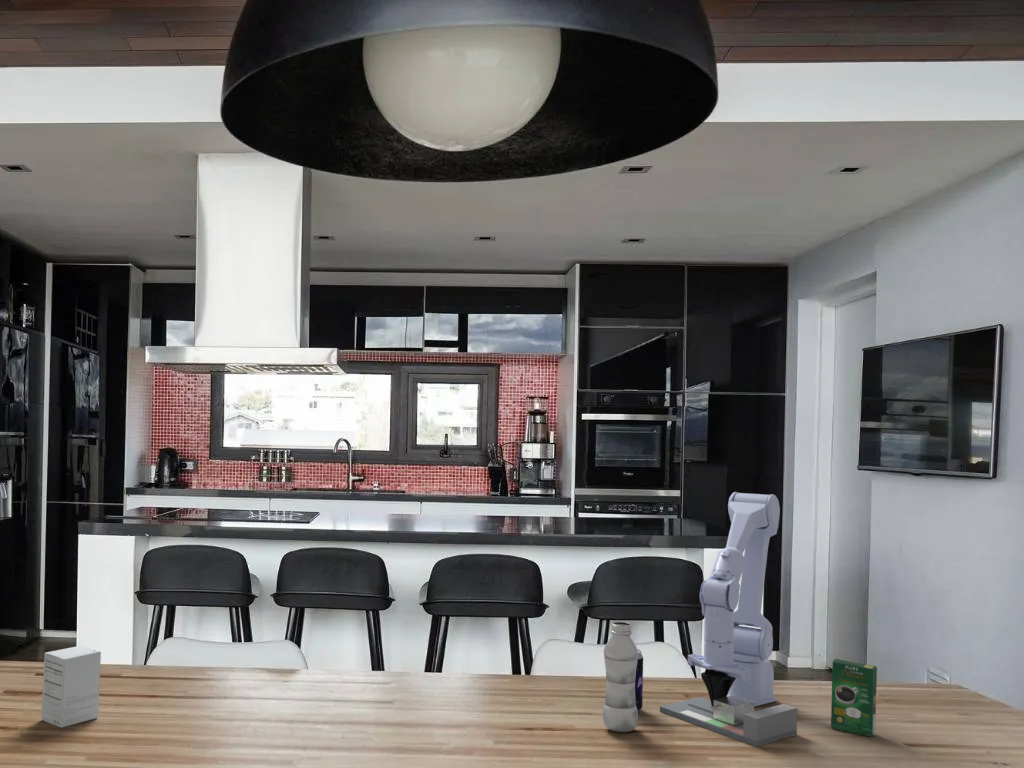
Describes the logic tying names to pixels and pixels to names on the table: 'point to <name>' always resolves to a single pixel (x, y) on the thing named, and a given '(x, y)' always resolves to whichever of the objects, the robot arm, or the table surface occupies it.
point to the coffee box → (853, 697)
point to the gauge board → (753, 731)
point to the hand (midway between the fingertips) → (718, 709)
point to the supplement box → (71, 686)
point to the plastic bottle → (620, 680)
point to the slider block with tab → (732, 709)
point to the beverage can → (639, 681)
